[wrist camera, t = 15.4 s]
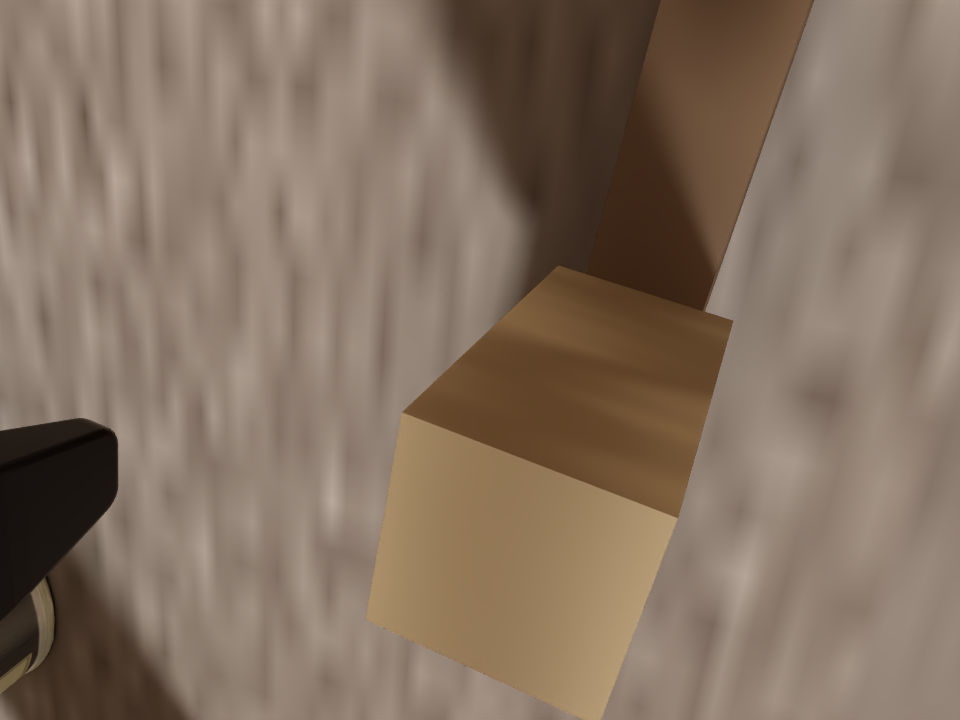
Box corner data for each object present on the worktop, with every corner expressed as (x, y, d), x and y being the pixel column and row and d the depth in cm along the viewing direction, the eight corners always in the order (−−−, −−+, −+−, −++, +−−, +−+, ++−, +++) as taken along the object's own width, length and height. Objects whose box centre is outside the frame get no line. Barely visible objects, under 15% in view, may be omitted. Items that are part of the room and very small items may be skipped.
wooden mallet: (860, -40, 14) (926, -135, 5) (631, 586, 20) (499, 983, 12) (685, -75, 14) (510, -205, 6) (517, 539, 21) (318, 883, 12)
